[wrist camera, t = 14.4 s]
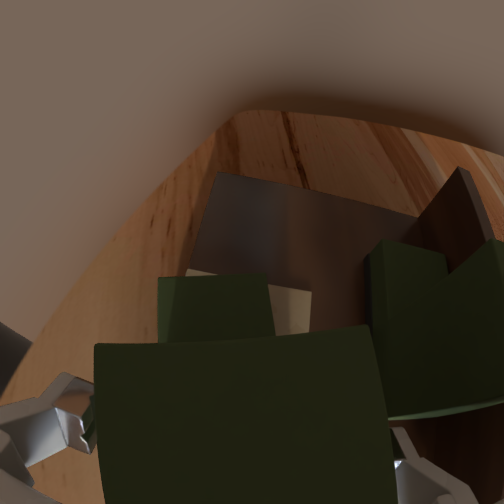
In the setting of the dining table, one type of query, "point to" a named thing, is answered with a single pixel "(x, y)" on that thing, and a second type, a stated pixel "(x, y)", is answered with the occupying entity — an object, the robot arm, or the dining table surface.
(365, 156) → the dining table surface
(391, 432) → the robot arm
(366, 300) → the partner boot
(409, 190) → the dining table surface
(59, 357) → the dining table surface
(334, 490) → the boot
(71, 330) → the dining table surface
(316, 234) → the shoe shelf
